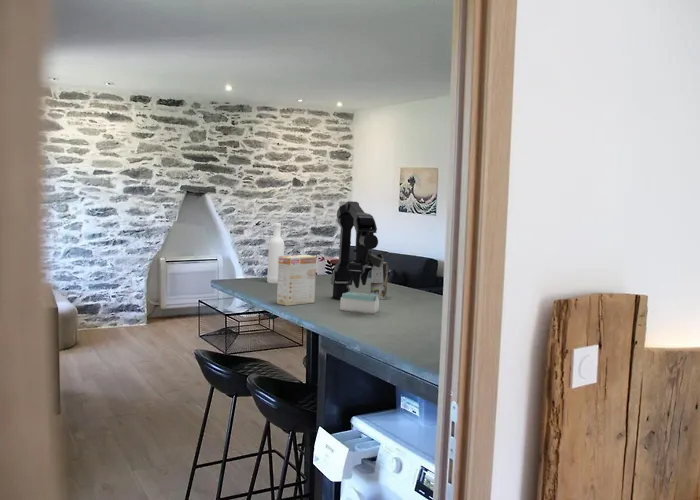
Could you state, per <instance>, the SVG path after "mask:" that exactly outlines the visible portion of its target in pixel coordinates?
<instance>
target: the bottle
mask: <svg viewBox="0 0 700 500" xmlns="http://www.w3.org/2000/svg"><path fill="white" fill-rule="evenodd" d="M272 225H273V227H272V228H273V231H272V232H273V233H272V234H273V235H272V237H270V239H269V242H268V249H267V250H268V252H267V276H266V281H267V283H268V284H277V285H278V260H279V256H285V242H284V239H283V238H282V237H281V235H282V234H281V232H282V231H281V230H282V223H281V222H273V224H272Z"/></svg>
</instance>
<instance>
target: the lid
mask: <svg viewBox="0 0 700 500" xmlns="http://www.w3.org/2000/svg"><path fill="white" fill-rule="evenodd" d="M375 297H378V295H375V294H370V293H366V292H365V293H362V292H353V291H350V292H347V293H344V294H342V298H346V299H356V300H366V301H374V300H375Z"/></svg>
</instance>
